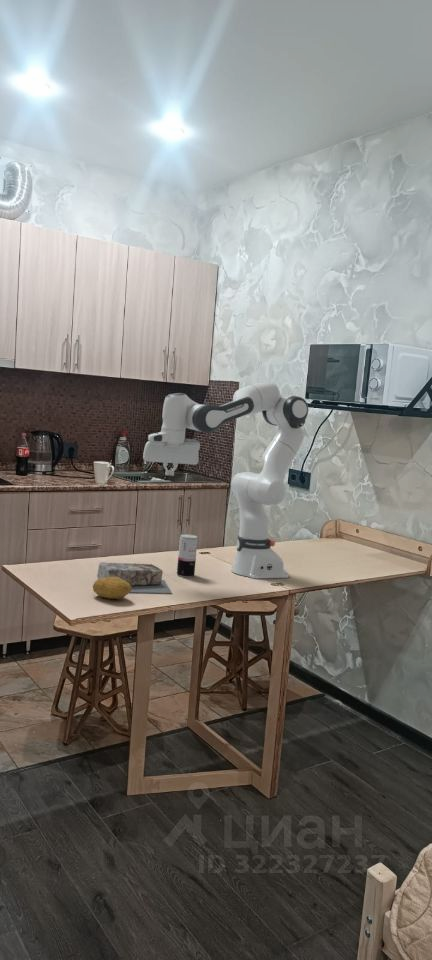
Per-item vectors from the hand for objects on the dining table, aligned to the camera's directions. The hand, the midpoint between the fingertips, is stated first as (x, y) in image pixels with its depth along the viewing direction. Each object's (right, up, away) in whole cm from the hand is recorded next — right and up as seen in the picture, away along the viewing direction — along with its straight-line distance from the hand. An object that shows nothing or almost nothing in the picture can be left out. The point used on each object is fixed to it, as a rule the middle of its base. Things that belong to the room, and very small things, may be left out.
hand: (169, 475), depth 260 cm
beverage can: (+6, -38, +5) cm, 38 cm away
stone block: (-4, -35, -8) cm, 36 cm away
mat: (-9, -39, -15) cm, 42 cm away
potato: (-16, -40, -32) cm, 54 cm away
